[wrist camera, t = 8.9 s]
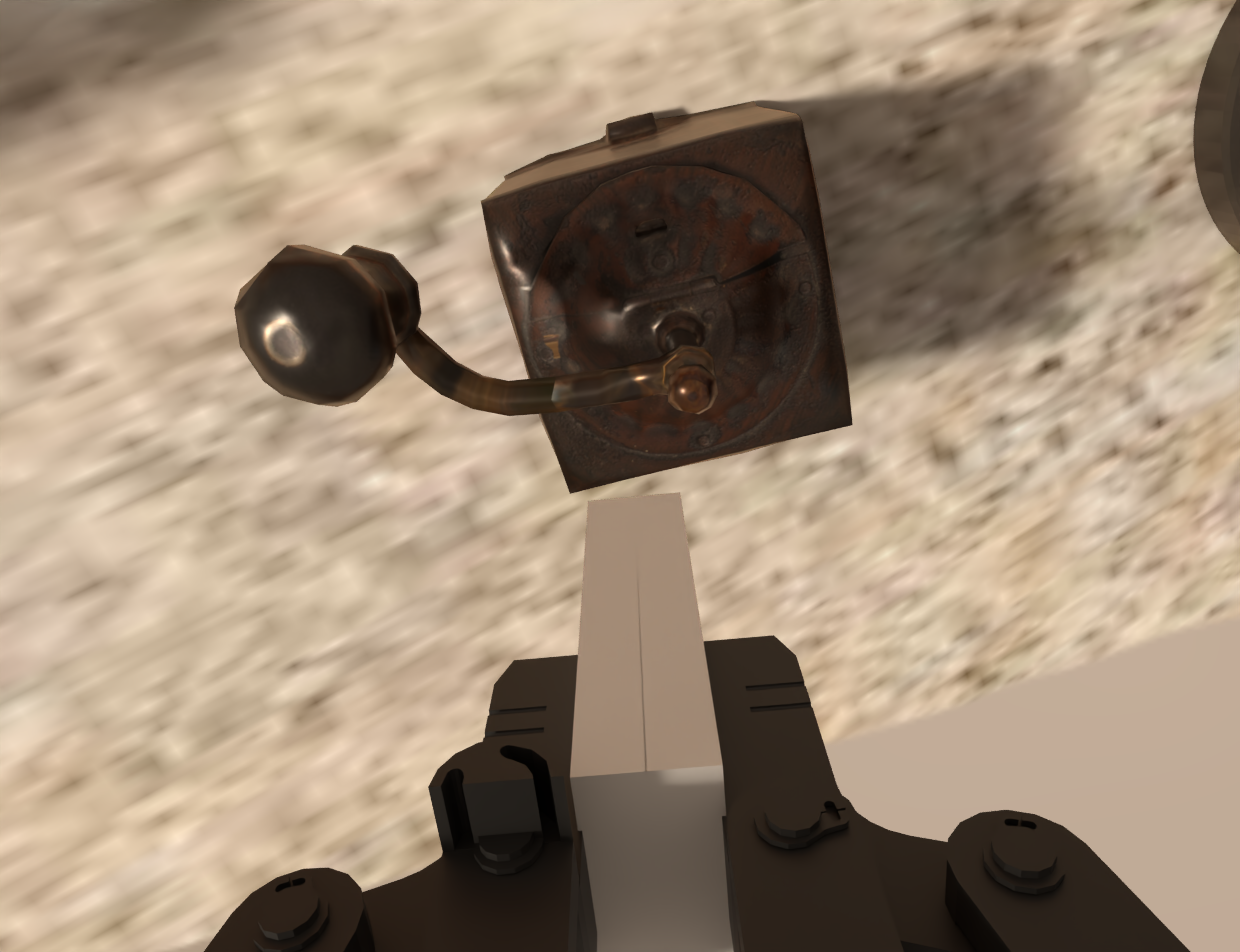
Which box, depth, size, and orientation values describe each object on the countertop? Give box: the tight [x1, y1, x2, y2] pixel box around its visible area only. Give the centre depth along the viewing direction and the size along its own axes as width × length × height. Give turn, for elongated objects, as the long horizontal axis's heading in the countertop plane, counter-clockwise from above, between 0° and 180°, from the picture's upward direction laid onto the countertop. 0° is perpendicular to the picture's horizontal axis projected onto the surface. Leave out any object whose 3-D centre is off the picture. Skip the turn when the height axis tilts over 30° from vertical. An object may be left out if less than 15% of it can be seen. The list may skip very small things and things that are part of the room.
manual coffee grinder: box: [234, 101, 852, 494], centre depth 30 cm, size 16×11×18 cm
